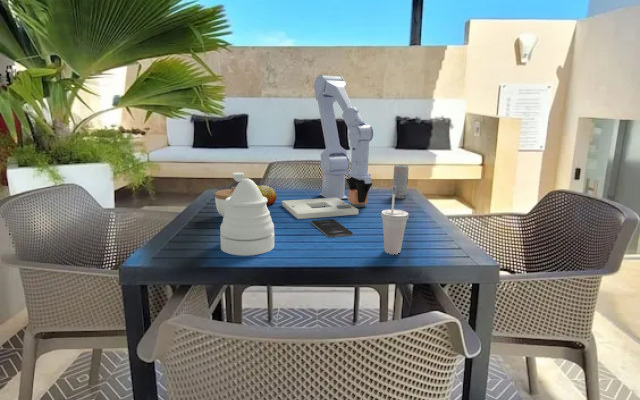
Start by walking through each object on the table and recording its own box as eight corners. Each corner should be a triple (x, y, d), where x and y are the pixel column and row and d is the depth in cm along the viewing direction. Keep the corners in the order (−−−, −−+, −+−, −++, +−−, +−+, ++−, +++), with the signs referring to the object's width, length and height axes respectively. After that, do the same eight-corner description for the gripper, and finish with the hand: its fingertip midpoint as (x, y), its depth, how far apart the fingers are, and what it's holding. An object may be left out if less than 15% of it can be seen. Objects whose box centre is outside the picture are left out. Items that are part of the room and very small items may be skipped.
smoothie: (376, 247, 106) (379, 191, 102) (402, 247, 106) (405, 191, 103) (382, 256, 99) (385, 197, 96) (409, 256, 100) (413, 197, 97)
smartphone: (328, 236, 112) (309, 220, 126) (328, 239, 112) (309, 223, 126) (354, 234, 115) (333, 218, 128) (354, 237, 115) (333, 221, 129)
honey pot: (226, 258, 96) (224, 179, 92) (216, 241, 108) (213, 170, 104) (281, 251, 101) (281, 176, 97) (265, 235, 113) (265, 167, 109)
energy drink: (405, 195, 165) (408, 164, 162) (407, 199, 160) (409, 166, 157) (391, 195, 165) (393, 164, 163) (392, 198, 160) (394, 166, 157)
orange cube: (348, 204, 149) (348, 189, 148) (361, 203, 151) (361, 188, 150) (354, 207, 145) (354, 192, 144) (367, 206, 146) (368, 191, 145)
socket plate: (282, 205, 146) (282, 199, 145) (336, 201, 153) (336, 195, 152) (297, 219, 129) (298, 211, 129) (358, 214, 136) (358, 207, 136)
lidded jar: (258, 215, 132) (258, 185, 130) (238, 224, 123) (237, 192, 121) (230, 211, 137) (229, 182, 134) (208, 219, 127) (206, 188, 125)
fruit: (276, 206, 143) (269, 183, 141) (246, 214, 144) (239, 192, 142) (280, 198, 154) (273, 177, 152) (252, 206, 154) (245, 185, 153)
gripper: (380, 163, 139) (378, 204, 142) (361, 158, 152) (359, 195, 156) (360, 164, 137) (359, 206, 140) (342, 158, 150) (341, 196, 153)
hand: (358, 200), depth 148 cm, fingers closed on orange cube, 5 cm apart
